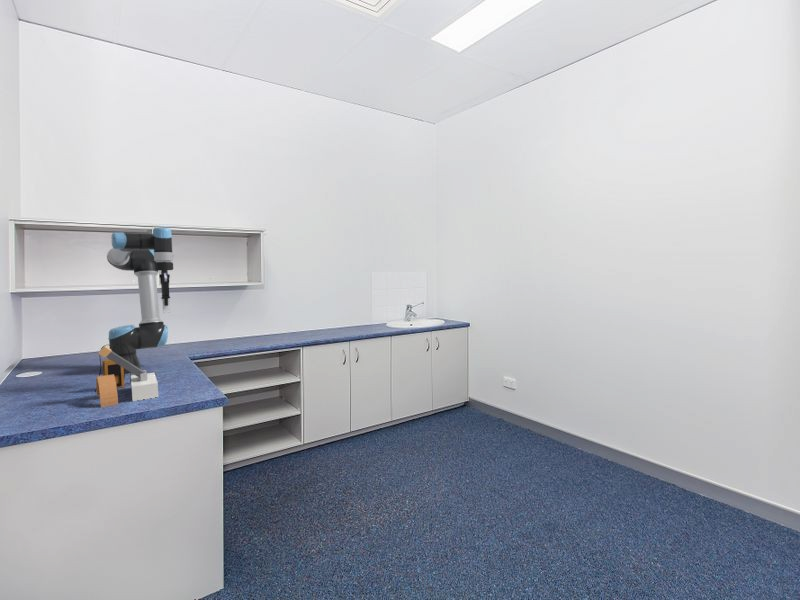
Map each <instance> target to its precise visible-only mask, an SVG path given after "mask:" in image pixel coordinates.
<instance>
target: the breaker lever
mask: <svg viewBox="0 0 800 600" xmlns="http://www.w3.org/2000/svg"><path fill="white" fill-rule="evenodd" d="M103 346H104V345H103ZM103 346H102V347H103ZM102 347H101V348H102ZM101 348H100V349H99V351H98V352H97V354H100V355H99V356H102V357H103V358H106V359H107V360H109V359H110V360H112V361H113V362H115V363H116V364H118V365H120V366H121V367H123V368H124V369H126V370H128V371H129V372H131V374H132V375H136V376H137V377H139V378H140V374H142V373H145V372H144V371H143V370H142V368H141V369H139V368H138V367H136V366H135V365H133V364H132V363H130V362H128V361H127V360H125V359H124V358H122V357H120V356H119V355H117V354H116V353H114V352H113V351H112V350H111V349H110V348H109V347H108V345H106V346H104V347H103V348H102V349H101Z"/></svg>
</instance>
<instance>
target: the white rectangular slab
mask: <svg viewBox="0 0 800 600" xmlns="http://www.w3.org/2000/svg"><path fill="white" fill-rule="evenodd" d="M143 371H144V372H145V373H142V374H140V378H139V377H137V376H136V375H134V374H131V384H130V386H131V399H132V402H138V401H137V400H139V401H143V399H145V400H151V399H150V398H152V399H156V398H155V397H158V398H159V384H158V379H157V376H156V374H155V372H149V373H148V372H147V370H146V369H144V370H143Z"/></svg>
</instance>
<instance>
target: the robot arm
mask: <svg viewBox="0 0 800 600" xmlns="http://www.w3.org/2000/svg"><path fill="white" fill-rule="evenodd" d="M172 239H173V234H172V229H171V228H168V227H154V228H152V233H147V232H146V233H143V232H139V233H138V232H137V233H136V232H122V231H120V232H112V234H111V246H112V248H110V249H109V251H108V252H107V253H106V259H107V262H108V263H109V264H110V265H111V266H112V267H114V268H116V269H117V270H122V271H132V272H133V275H135V276H136V277H137V283H138V284H137V285H138V293H139V305H140V315H141V320H140V322H139V323H138V326H137V327H136V326H135V325H134V324H130V325H129V324H128V325H127V324H126V325H123V326H122V325H121V326H118V327H116V326H115V327H113V328H111V329H110V330H109V331H108V338H107V339H108V343H109V344H108V346H109V345H110V346H111V350H112V351H113V347H114V346H115V345H116V344H118V345H116V346H115V347H114V353H116V354H117V355H119V356H120V357H122V358H124V359H125V360H127V361H128V362H130V358H131V363H132V364H133V365H135V366H136V367H138V368H139V369H141V370H142V364H141V362H140V360H139V357H138V355H137V350H145V349H151V348H155V349H156V348H162V347H164V346H166V344H167V341H168V337H169V330H168V325H167V324H164V321H163V320H162V319H161V315H160V308H159V307H160V306H159V305H160V304H159V296H158V284H157V276H158V275H159V279H160V281H159V282H160V288H161V297H160V299H161V301H162V313H163V314H168V313H171V310H170V309H171V307H170V306H171V305H170V299H171V296H170V277H171V275H170V274H169V273H168V271H173V270H174V262H173V259H174V257H175V254H173V240H172ZM159 271H160V272H161V273H160V272H159ZM119 343H123V344H119ZM124 344H125V345H126V346H127V347H126V346H125V345H124ZM110 346H109V347H108V348H110ZM127 348H128V349H127ZM128 350H129V352H128ZM129 353H130V356H129ZM125 374H130V372H129V371H128V370H126V369H125Z"/></svg>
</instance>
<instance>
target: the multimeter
mask: <svg viewBox="0 0 800 600" xmlns="http://www.w3.org/2000/svg"><path fill="white" fill-rule="evenodd" d="M119 344H123V343H119ZM116 345H118V344H116ZM116 345H115V346H116ZM124 345H125V344H124ZM104 346H107V344H106V345H103V346H102V347H101V348H100V350H101V349H102V348H103V347H104ZM108 346H110V345H109V344H108ZM115 346H114V347H115ZM125 346H126V345H125ZM114 347H113V352H114ZM126 347H127V346H126ZM110 349H111V346H110ZM127 349H128V348H127ZM128 352H129V350H128ZM99 356H101V355H100V354H99ZM129 356H130V353H129ZM99 362H100V364H99V365H100V366H102V367H100V368H99V373H98V376H101V371H102V376H105V375H112V374H114V376H115V380H116V387H117V389H119V388H125V385H131V375H132V373H131V372H130V373H129V374H130V375H129V382H125V378H126V373H125V369H124V368H123V367H121V366H120V365H118V364H116V363H115V362H113V361H112V360H110V359H103V360H102V361H101V358H99ZM130 363H131V358H130ZM94 392H95V393H97V390H96V389H95V390H94Z"/></svg>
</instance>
